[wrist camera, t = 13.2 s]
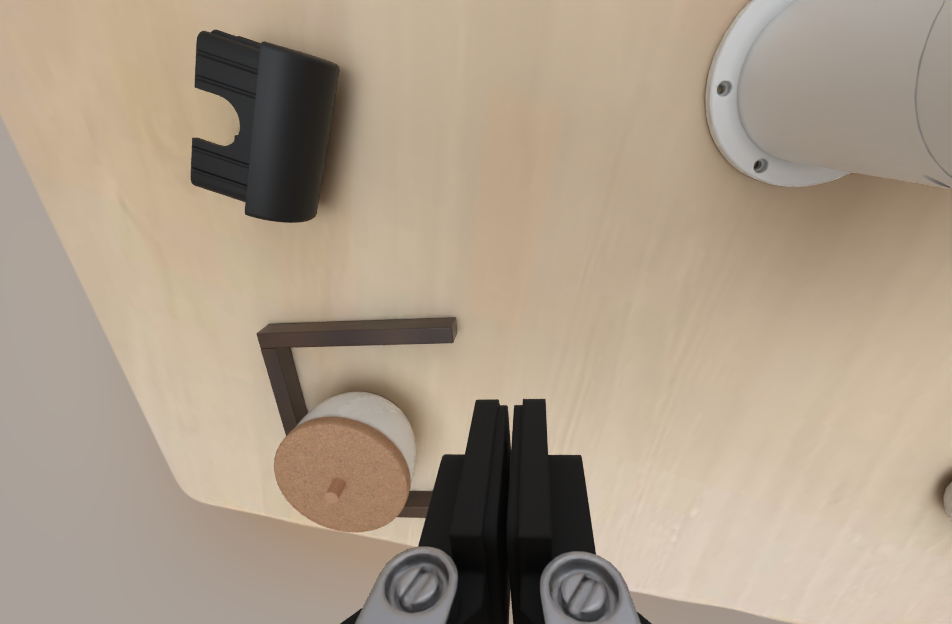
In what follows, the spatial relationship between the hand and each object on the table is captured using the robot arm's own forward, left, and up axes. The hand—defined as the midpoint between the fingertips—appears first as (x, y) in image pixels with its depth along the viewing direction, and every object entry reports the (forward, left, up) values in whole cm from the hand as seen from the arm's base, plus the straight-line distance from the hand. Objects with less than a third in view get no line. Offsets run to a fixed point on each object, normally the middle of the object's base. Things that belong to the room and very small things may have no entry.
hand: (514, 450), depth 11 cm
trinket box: (+15, +17, -25) cm, 34 cm away
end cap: (+16, -8, -25) cm, 31 cm away
